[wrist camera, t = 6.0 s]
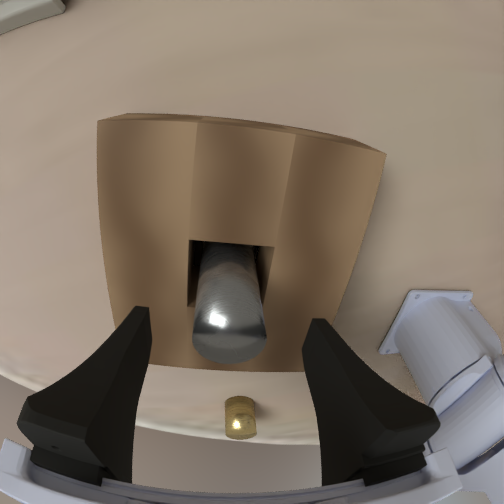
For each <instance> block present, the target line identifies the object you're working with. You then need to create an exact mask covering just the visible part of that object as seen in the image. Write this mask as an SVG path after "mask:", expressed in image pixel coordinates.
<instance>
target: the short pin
mask: <svg viewBox="0 0 504 504" xmlns="http://www.w3.org/2000/svg"><path fill="white" fill-rule="evenodd" d="M225 428H226V436H227V437H229V438H231V439H237V440H243V439H249V438H252V437H254V436H255V435H256V434H257V432H256V422H255V411H254V402H253V400H252V399H251V398H249V397H245V396H235V397H231V398H229V399H227V400H226V401H225Z"/></svg>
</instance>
